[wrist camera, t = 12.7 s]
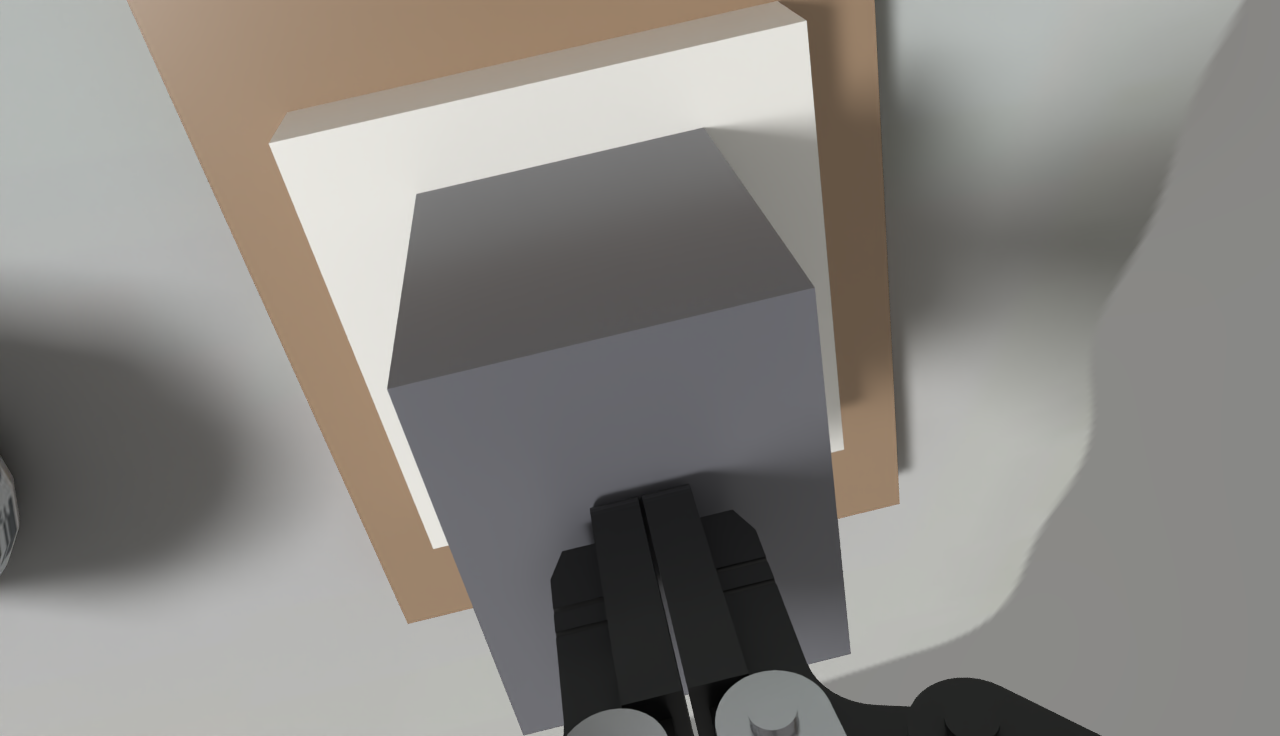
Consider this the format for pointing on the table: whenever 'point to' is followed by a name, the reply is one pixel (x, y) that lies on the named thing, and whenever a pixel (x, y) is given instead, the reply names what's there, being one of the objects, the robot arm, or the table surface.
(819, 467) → the plug
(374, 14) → the socket
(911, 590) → the table surface
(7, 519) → the beverage can
